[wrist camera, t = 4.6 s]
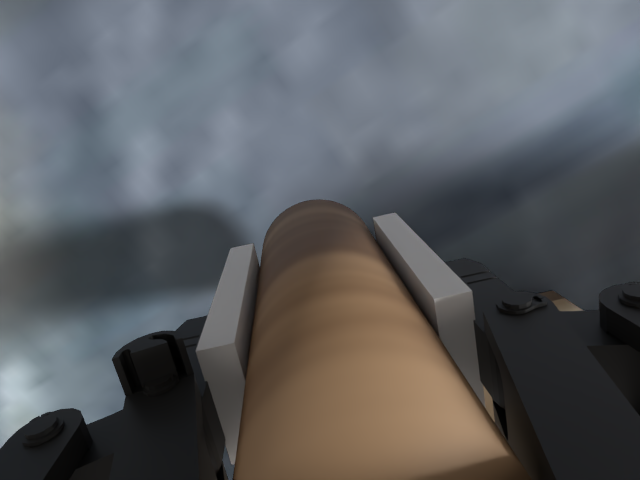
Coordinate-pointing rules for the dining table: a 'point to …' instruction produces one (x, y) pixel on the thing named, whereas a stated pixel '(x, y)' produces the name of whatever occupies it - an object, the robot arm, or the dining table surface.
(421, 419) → the pin
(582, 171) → the dining table surface
